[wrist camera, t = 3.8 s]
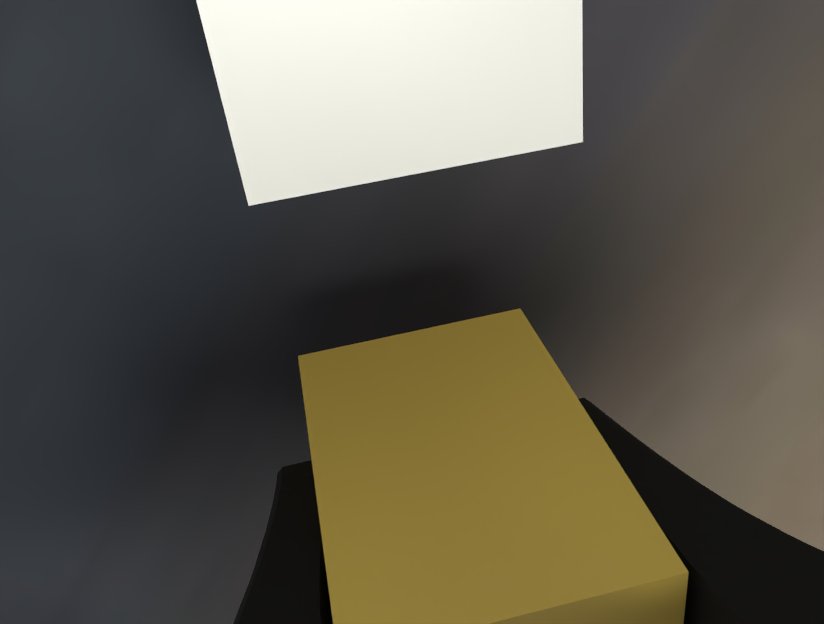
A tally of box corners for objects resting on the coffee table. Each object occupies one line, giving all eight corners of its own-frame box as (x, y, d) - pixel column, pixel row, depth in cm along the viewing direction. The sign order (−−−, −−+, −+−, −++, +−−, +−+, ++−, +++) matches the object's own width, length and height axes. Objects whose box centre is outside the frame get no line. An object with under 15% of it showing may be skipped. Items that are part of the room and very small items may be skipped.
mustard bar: (529, 472, 16) (668, 763, 11) (337, 518, 15) (389, 843, 10) (520, 308, 14) (689, 572, 9) (297, 356, 13) (337, 662, 8)
